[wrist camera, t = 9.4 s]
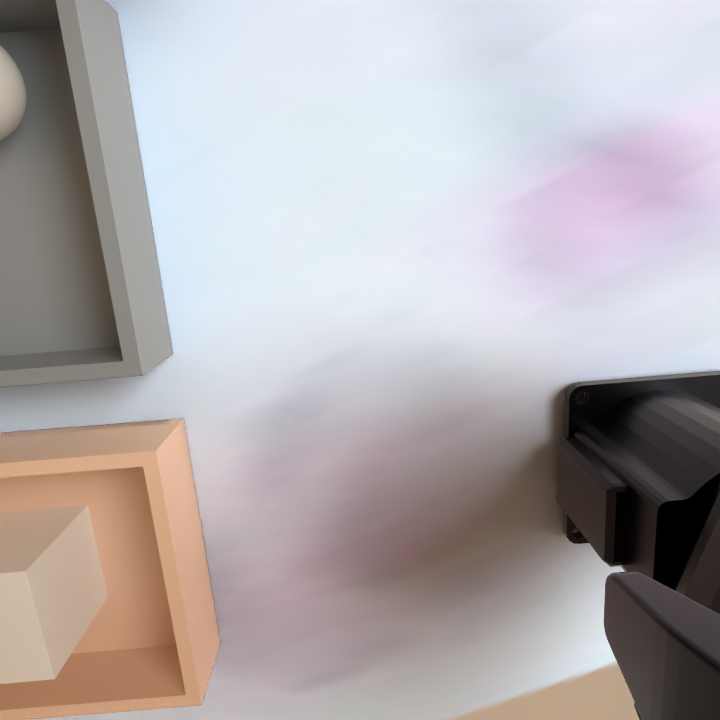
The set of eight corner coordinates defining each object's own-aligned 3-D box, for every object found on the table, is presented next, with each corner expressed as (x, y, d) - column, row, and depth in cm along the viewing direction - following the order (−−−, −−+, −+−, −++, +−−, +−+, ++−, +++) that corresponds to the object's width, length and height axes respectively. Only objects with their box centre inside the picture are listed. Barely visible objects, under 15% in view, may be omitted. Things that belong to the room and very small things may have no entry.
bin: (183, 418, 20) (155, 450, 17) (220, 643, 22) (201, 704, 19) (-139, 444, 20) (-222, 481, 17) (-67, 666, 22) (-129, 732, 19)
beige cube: (87, 505, 20) (25, 571, 16) (108, 596, 21) (54, 679, 17) (-19, 514, 20) (-106, 582, 16) (7, 605, 21) (-70, 690, 17)
